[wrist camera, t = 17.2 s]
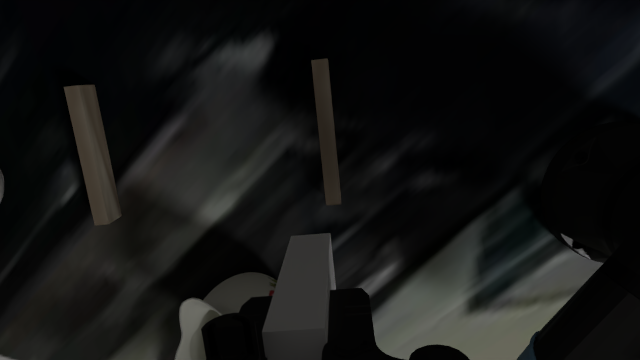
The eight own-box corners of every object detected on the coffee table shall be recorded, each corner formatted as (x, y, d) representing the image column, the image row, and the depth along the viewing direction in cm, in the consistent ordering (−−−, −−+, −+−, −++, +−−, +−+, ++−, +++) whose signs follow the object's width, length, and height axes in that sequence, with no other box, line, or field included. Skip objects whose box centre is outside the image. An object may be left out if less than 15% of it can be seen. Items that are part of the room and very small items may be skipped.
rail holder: (328, 59, 46) (327, 58, 44) (341, 196, 50) (341, 204, 47) (80, 86, 48) (63, 86, 45) (108, 217, 52) (94, 225, 49)
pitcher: (253, 381, 56) (225, 477, 42) (185, 259, 52) (132, 321, 39) (332, 351, 54) (330, 441, 41) (268, 224, 51) (243, 276, 38)
